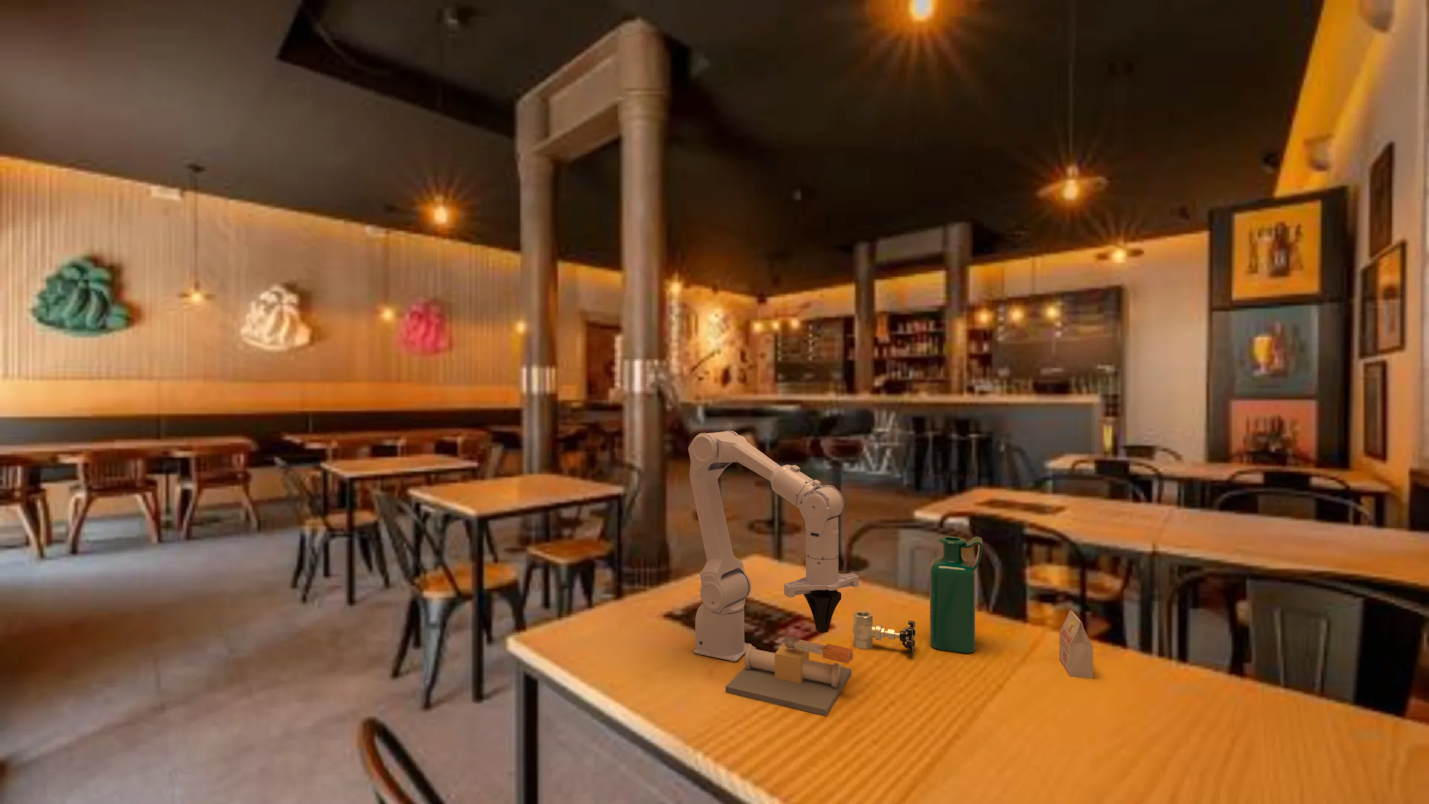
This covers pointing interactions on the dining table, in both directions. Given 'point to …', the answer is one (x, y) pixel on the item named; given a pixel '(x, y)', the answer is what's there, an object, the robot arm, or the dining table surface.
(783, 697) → the pipe board
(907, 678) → the dining table surface
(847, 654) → the valve lever
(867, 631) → the valve
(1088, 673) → the milk carton
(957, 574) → the pitcher
